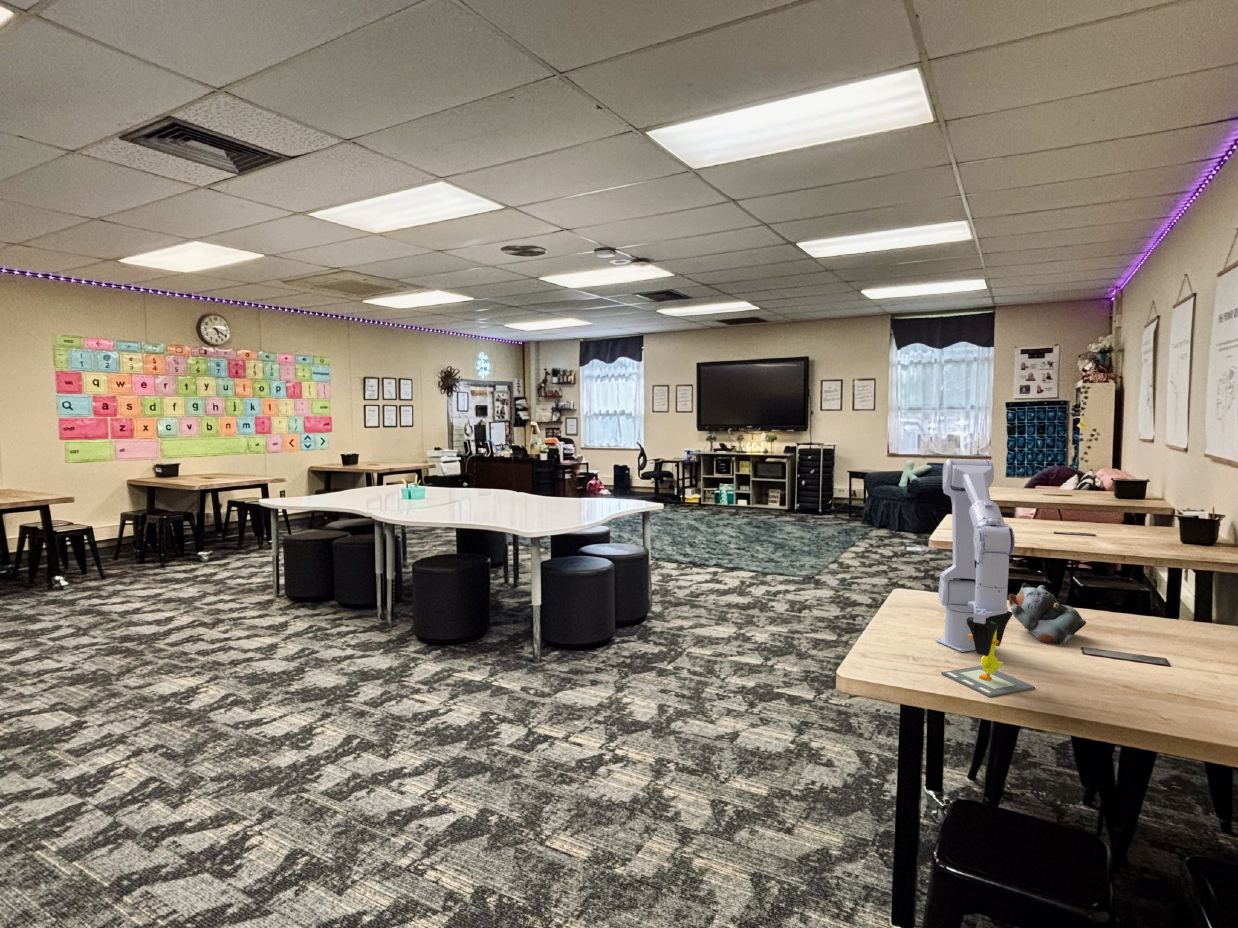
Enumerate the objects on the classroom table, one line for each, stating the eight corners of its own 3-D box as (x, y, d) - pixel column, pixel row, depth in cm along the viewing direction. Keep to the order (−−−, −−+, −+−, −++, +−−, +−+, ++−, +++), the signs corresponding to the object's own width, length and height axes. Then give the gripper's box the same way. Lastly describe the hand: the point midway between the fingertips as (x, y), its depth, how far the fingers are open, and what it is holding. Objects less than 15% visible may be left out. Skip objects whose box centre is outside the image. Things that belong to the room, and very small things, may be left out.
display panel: (984, 666, 145) (984, 664, 145) (1035, 688, 134) (1035, 686, 134) (941, 673, 141) (941, 671, 141) (989, 697, 130) (989, 694, 130)
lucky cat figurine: (1059, 649, 156) (1027, 593, 158) (1017, 652, 167) (988, 600, 169) (1097, 622, 161) (1066, 569, 164) (1054, 627, 172) (1026, 577, 175)
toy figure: (964, 676, 139) (966, 619, 138) (969, 671, 141) (972, 615, 140) (1000, 685, 134) (1003, 627, 133) (1005, 680, 137) (1008, 623, 136)
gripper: (981, 574, 144) (978, 636, 145) (958, 587, 134) (955, 653, 135) (1018, 580, 139) (1014, 644, 140) (997, 594, 129) (994, 663, 130)
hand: (988, 649), depth 137 cm, fingers open, 7 cm apart
